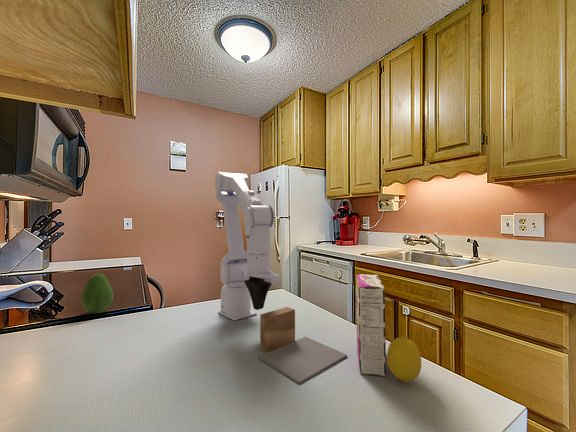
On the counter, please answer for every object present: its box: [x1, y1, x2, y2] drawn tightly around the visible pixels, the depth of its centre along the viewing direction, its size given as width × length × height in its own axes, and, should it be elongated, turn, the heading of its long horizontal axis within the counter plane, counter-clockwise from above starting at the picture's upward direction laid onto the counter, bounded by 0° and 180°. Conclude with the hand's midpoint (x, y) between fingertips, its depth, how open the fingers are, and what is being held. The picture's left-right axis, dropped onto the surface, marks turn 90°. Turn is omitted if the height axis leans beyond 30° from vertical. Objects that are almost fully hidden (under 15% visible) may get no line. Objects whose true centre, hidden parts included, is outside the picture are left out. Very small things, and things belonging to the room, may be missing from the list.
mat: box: [257, 336, 348, 385], centre depth 57 cm, size 12×14×1 cm
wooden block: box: [259, 306, 296, 353], centre depth 63 cm, size 3×8×8 cm, turn 132°
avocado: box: [80, 273, 114, 314], centre depth 84 cm, size 8×8×12 cm
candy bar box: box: [355, 273, 387, 377], centre depth 56 cm, size 11×5×16 cm, turn 168°
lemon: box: [386, 335, 422, 383], centre depth 48 cm, size 6×6×8 cm
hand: (258, 308), depth 68 cm, fingers closed
